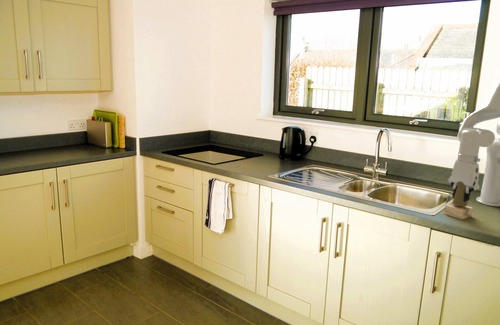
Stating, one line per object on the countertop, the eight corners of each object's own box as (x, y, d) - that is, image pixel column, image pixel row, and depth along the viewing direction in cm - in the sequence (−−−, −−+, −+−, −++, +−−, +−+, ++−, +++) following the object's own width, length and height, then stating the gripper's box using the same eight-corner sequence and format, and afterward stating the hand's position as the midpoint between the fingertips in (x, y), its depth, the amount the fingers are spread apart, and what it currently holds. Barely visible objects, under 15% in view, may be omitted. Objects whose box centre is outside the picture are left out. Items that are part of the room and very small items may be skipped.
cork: (462, 202, 188) (466, 178, 186) (470, 206, 183) (474, 182, 180) (449, 201, 188) (453, 177, 186) (456, 206, 182) (460, 181, 180)
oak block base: (454, 210, 192) (455, 202, 191) (471, 216, 185) (473, 207, 185) (444, 213, 188) (445, 205, 187) (461, 219, 181) (462, 210, 180)
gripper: (491, 162, 176) (484, 204, 180) (454, 154, 190) (447, 193, 194) (482, 164, 172) (474, 206, 176) (444, 155, 186) (438, 195, 190)
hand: (460, 199), depth 185 cm, fingers closed on cork, 4 cm apart
